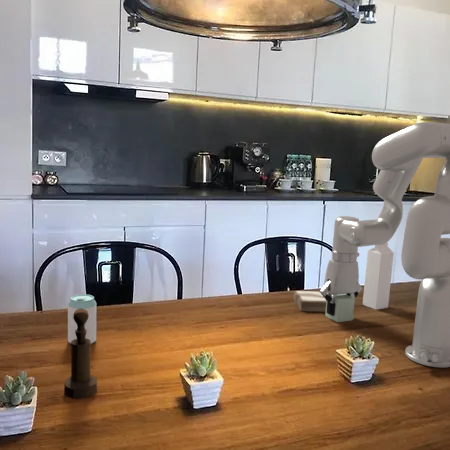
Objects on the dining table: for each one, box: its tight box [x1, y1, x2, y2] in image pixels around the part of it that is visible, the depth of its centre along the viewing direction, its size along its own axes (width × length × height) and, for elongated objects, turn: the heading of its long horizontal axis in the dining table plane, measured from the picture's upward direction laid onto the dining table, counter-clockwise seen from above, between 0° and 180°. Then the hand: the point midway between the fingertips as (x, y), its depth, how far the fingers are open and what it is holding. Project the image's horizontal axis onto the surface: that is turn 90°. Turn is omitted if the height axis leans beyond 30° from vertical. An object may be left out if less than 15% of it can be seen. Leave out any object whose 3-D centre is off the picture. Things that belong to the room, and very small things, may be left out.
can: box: [67, 293, 97, 345], centre depth 136 cm, size 7×7×12 cm
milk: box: [362, 241, 395, 311], centre depth 178 cm, size 6×6×22 cm
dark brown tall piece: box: [63, 309, 98, 400], centre depth 110 cm, size 7×6×18 cm
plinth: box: [292, 290, 329, 312], centre depth 177 cm, size 12×12×3 cm
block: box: [324, 294, 356, 323], centre depth 165 cm, size 6×6×7 cm
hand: (339, 312), depth 165 cm, fingers closed on block, 6 cm apart
